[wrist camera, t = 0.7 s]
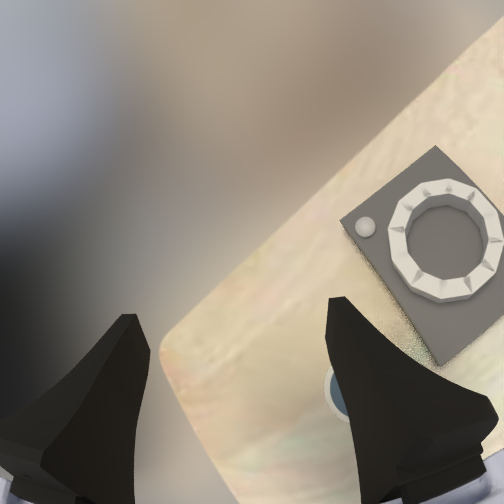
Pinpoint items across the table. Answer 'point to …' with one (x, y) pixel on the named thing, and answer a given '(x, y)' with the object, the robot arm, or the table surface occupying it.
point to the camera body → (436, 251)
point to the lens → (334, 396)
